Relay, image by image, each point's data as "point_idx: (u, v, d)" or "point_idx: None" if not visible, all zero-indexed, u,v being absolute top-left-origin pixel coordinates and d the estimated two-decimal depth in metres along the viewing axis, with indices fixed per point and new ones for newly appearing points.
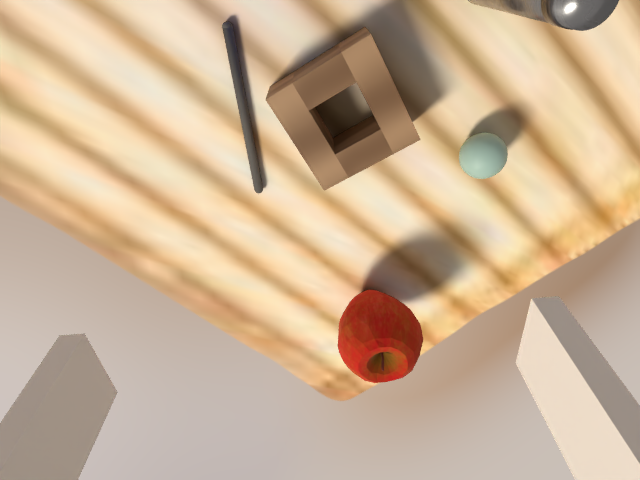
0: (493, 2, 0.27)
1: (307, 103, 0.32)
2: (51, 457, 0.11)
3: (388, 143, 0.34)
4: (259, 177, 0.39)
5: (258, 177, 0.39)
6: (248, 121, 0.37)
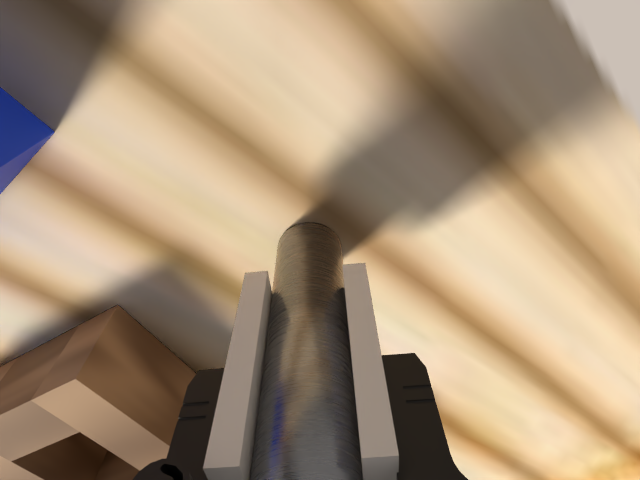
0: None
1: (3, 454, 0.18)
2: None
3: None
4: None
5: None
6: None
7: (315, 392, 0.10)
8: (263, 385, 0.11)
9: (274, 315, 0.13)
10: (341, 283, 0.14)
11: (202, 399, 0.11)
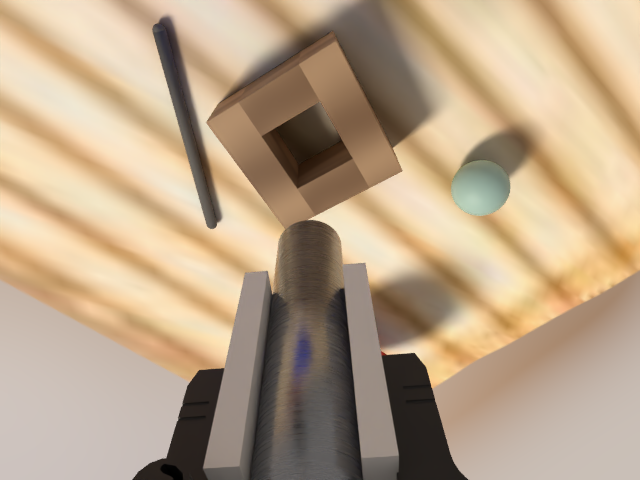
0: None
1: (259, 127, 0.26)
2: None
3: (362, 175, 0.28)
4: (211, 210, 0.33)
5: (210, 211, 0.33)
6: (193, 145, 0.30)
7: (315, 383, 0.10)
8: (264, 378, 0.11)
9: (275, 310, 0.13)
10: (341, 279, 0.15)
11: (202, 399, 0.11)
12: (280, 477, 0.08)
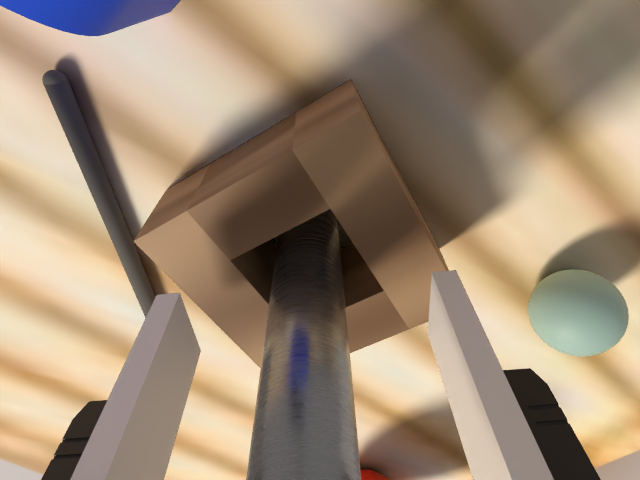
0: None
1: (225, 247, 0.15)
2: (164, 398, 0.12)
3: (399, 313, 0.17)
4: None
5: None
6: (130, 251, 0.19)
7: (312, 324, 0.12)
8: (268, 323, 0.13)
9: (277, 270, 0.15)
10: (336, 246, 0.16)
11: (84, 434, 0.10)
12: (282, 392, 0.10)
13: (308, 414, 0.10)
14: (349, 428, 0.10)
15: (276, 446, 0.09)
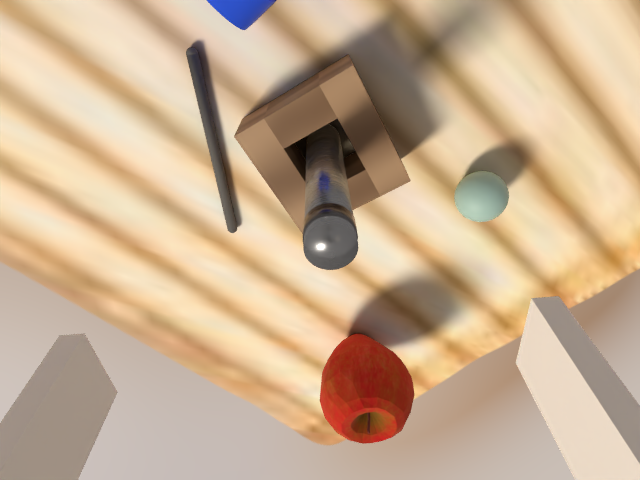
0: None
1: (281, 141, 0.29)
2: (51, 457, 0.11)
3: (374, 184, 0.30)
4: (232, 216, 0.35)
5: (231, 216, 0.35)
6: (218, 156, 0.33)
7: (330, 163, 0.25)
8: (307, 169, 0.26)
9: (309, 152, 0.28)
10: (340, 145, 0.30)
11: None
12: (318, 180, 0.24)
13: (330, 183, 0.23)
14: (347, 192, 0.23)
15: (317, 191, 0.23)
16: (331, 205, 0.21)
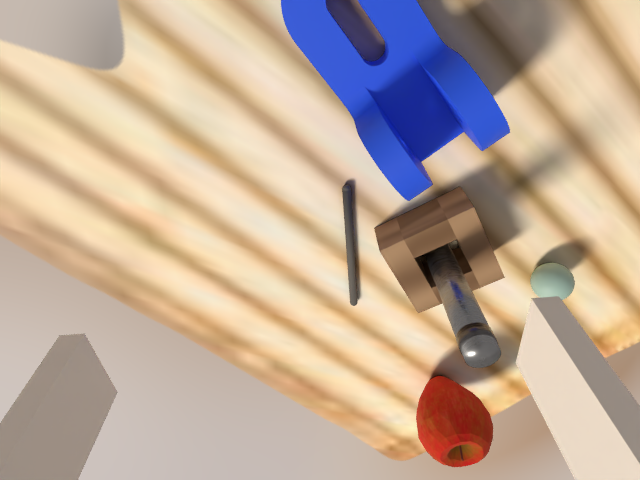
0: None
1: (414, 253, 0.39)
2: (51, 457, 0.11)
3: (477, 280, 0.41)
4: (356, 294, 0.46)
5: (355, 294, 0.46)
6: (353, 254, 0.43)
7: (459, 279, 0.36)
8: (440, 280, 0.37)
9: (434, 262, 0.39)
10: None
11: None
12: (458, 296, 0.34)
13: (468, 301, 0.33)
14: None
15: (462, 308, 0.33)
16: (479, 324, 0.31)
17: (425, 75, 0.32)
